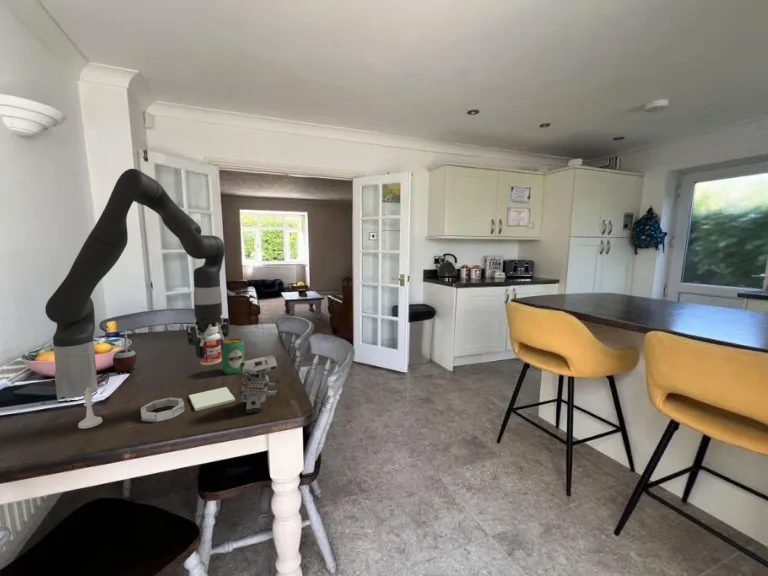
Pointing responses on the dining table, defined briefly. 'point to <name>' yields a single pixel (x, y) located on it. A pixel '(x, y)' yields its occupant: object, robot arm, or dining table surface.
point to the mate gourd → (124, 359)
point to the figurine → (256, 382)
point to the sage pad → (211, 398)
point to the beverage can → (232, 355)
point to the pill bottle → (212, 347)
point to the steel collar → (164, 415)
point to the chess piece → (89, 412)
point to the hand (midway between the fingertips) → (210, 354)
